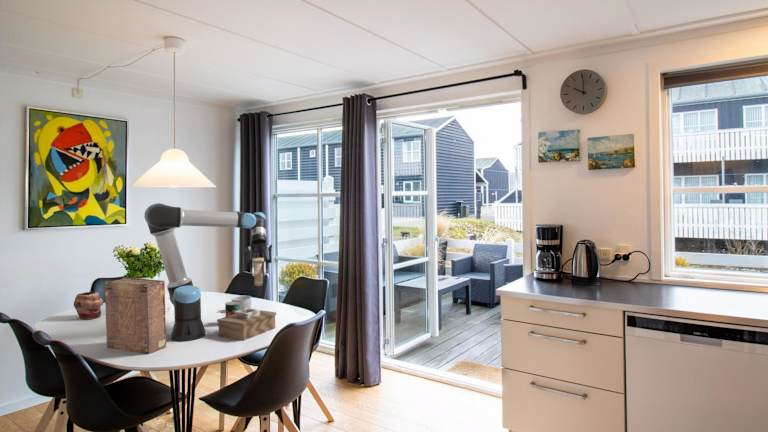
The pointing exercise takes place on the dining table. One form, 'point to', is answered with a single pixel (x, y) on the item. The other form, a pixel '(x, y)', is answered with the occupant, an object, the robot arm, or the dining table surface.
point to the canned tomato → (232, 307)
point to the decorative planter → (88, 305)
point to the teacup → (243, 301)
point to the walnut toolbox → (246, 323)
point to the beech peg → (258, 271)
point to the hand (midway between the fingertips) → (259, 274)
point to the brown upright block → (135, 314)
